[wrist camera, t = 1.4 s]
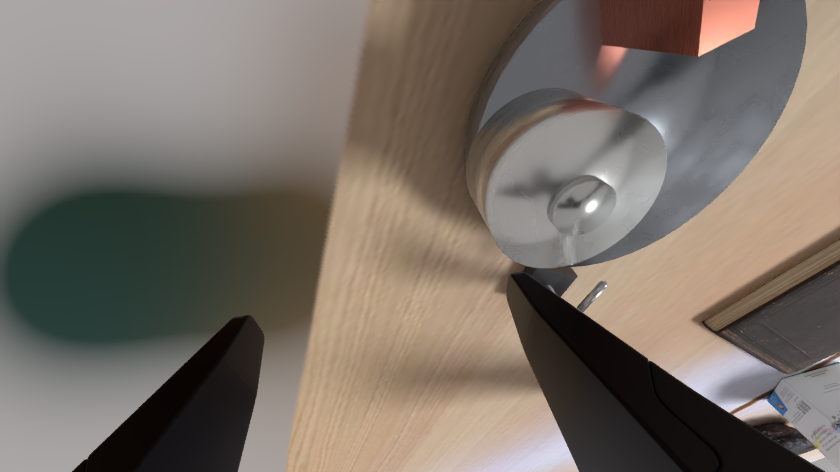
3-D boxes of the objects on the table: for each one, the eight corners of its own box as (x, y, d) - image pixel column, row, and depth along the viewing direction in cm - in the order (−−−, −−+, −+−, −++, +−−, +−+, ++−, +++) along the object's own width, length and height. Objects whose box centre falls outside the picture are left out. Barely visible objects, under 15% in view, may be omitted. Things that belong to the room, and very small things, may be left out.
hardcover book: (869, 211, 26) (907, 225, 24) (909, 290, 36) (938, 305, 34) (696, 318, 33) (715, 336, 31) (768, 361, 43) (786, 376, 41)
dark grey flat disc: (833, 405, 57) (867, 436, 54) (754, 442, 71) (777, 468, 68) (730, 422, 56) (758, 455, 52) (670, 457, 70) (688, 484, 66)
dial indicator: (589, 245, 24) (696, 358, 16) (545, 299, 27) (615, 415, 19) (548, 235, 22) (641, 352, 15) (507, 293, 26) (565, 414, 18)
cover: (632, 115, 14) (723, 149, 10) (551, 231, 18) (597, 287, 14) (506, 63, 12) (563, 83, 9) (445, 206, 16) (466, 263, 12)
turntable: (833, 22, 15) (1085, 24, 10) (615, 264, 23) (684, 335, 18) (572, -166, 10) (783, -361, 5) (420, 222, 19) (438, 301, 14)
